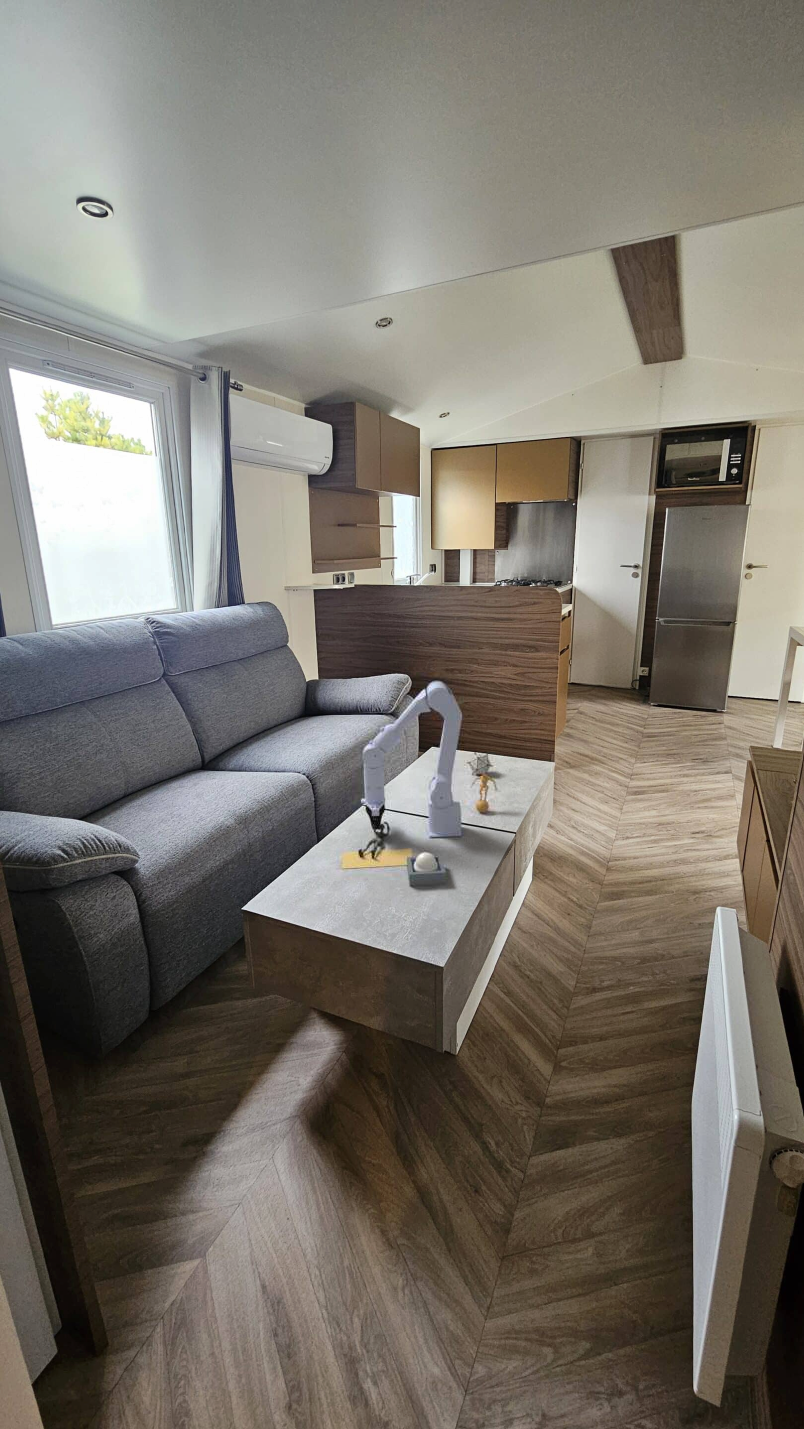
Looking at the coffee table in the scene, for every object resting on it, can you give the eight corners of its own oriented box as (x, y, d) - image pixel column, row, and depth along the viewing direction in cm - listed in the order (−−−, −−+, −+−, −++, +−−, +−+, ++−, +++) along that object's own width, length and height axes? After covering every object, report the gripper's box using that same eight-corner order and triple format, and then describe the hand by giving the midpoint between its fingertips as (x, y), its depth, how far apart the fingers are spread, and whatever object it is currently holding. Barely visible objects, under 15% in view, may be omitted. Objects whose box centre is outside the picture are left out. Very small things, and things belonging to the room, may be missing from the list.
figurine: (467, 812, 193) (467, 776, 190) (473, 805, 198) (473, 770, 195) (493, 816, 190) (494, 779, 187) (498, 809, 195) (499, 773, 192)
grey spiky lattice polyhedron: (475, 783, 227) (464, 758, 230) (496, 774, 227) (485, 749, 230) (474, 779, 219) (463, 754, 221) (496, 770, 218) (485, 744, 221)
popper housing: (441, 866, 161) (441, 855, 160) (445, 884, 152) (445, 872, 151) (407, 868, 160) (406, 857, 160) (409, 886, 152) (409, 874, 151)
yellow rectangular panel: (411, 849, 171) (411, 848, 171) (414, 865, 162) (414, 864, 162) (342, 852, 170) (342, 852, 170) (341, 869, 161) (341, 868, 161)
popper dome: (436, 865, 159) (436, 847, 158) (439, 877, 153) (438, 858, 152) (413, 867, 159) (412, 848, 157) (415, 879, 153) (414, 860, 152)
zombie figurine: (356, 834, 165) (375, 812, 179) (358, 857, 167) (376, 834, 181) (375, 835, 163) (393, 814, 177) (377, 859, 165) (394, 836, 179)
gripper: (360, 777, 184) (362, 819, 187) (360, 795, 170) (362, 840, 173) (384, 775, 184) (385, 817, 188) (385, 794, 170) (387, 839, 174)
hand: (376, 828), depth 180 cm, fingers closed
